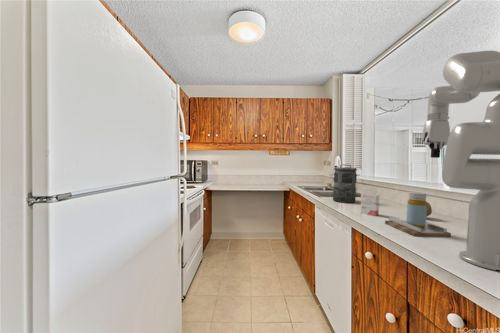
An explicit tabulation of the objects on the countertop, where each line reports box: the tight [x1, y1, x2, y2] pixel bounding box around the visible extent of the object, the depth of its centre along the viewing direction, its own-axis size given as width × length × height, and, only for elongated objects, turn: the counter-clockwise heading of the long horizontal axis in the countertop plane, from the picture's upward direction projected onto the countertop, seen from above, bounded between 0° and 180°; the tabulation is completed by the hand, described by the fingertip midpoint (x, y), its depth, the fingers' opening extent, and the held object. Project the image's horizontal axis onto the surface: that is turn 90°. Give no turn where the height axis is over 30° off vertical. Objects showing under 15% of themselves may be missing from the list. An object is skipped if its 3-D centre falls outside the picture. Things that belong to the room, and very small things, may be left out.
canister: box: [332, 164, 358, 204], centre depth 170 cm, size 16×16×28 cm
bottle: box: [406, 191, 427, 228], centre depth 101 cm, size 7×7×15 cm
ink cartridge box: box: [359, 188, 380, 217], centre depth 130 cm, size 9×5×15 cm, turn 42°
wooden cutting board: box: [388, 216, 448, 233], centre depth 101 cm, size 18×12×2 cm
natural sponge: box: [426, 201, 433, 218], centre depth 125 cm, size 9×9×10 cm
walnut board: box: [384, 220, 452, 238], centre depth 101 cm, size 18×16×2 cm
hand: (435, 157), depth 106 cm, fingers closed
